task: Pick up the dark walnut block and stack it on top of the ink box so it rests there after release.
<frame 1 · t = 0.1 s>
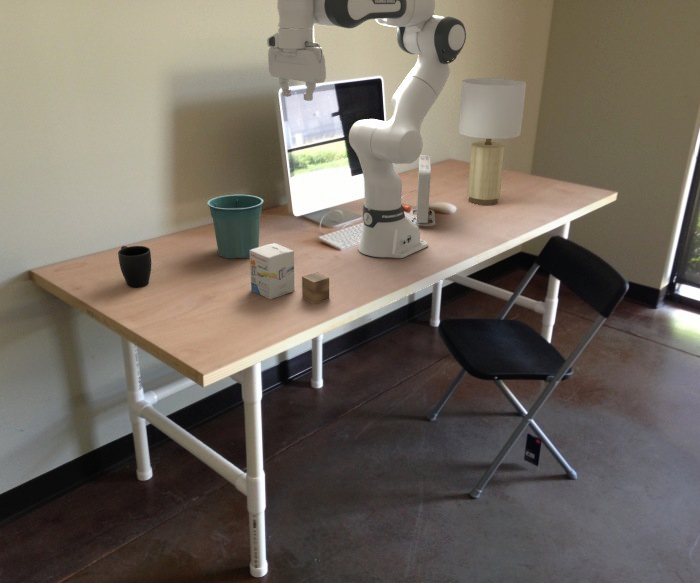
hand: (297, 98, 173), 48 cm above the table, fingers open, 8 cm apart
walnut block: (315, 298, 176), on the table
flower pot: (238, 253, 207), on the table
mug: (135, 282, 185), on the table
lamp: (482, 201, 262), on the table
network device: (422, 218, 241), on the table
ink box: (272, 291, 180), on the table
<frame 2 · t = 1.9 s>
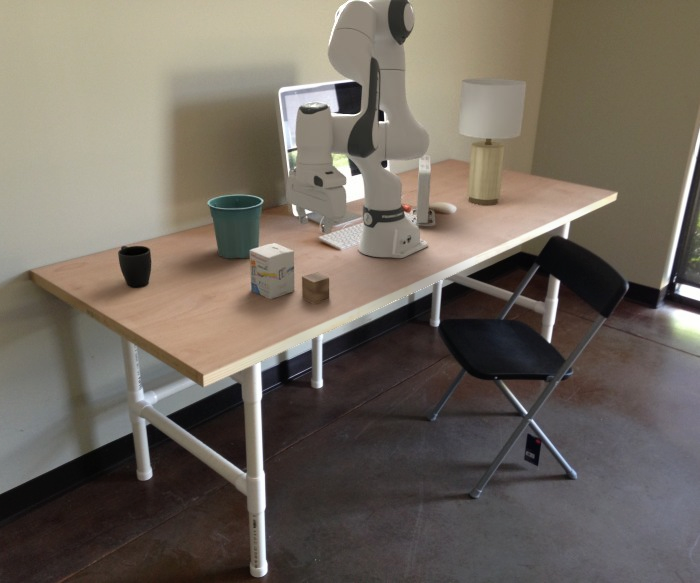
hand: (314, 228, 168), 19 cm above the table, fingers open, 8 cm apart
nothing on the table moved.
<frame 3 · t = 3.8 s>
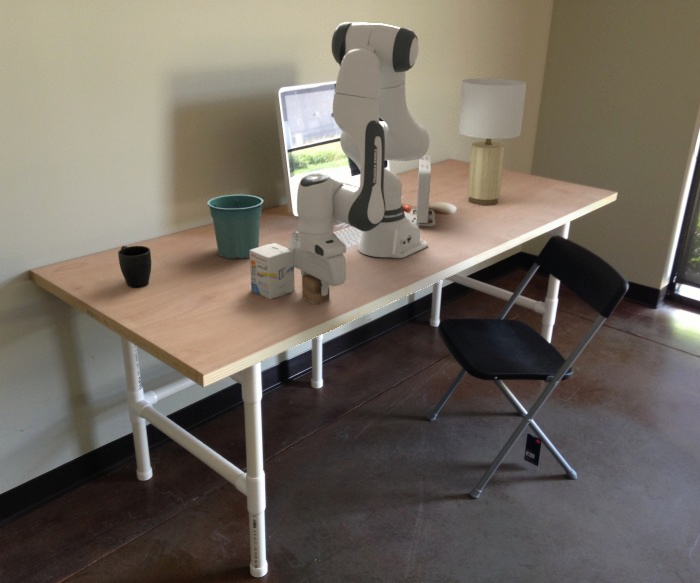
hand: (315, 290, 175), 2 cm above the table, fingers closed on walnut block, 5 cm apart
walnut block: (315, 298, 176), on the table, touching gripper
everything else where it was.
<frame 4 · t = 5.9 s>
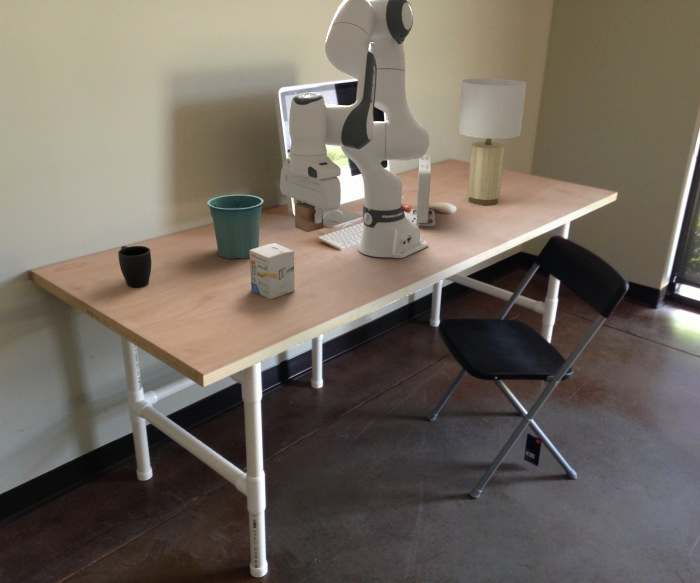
hand: (309, 219, 168), 21 cm above the table, fingers closed on walnut block, 5 cm apart
walnut block: (309, 227, 169), point 19 cm above the table, touching gripper
everything else where it was.
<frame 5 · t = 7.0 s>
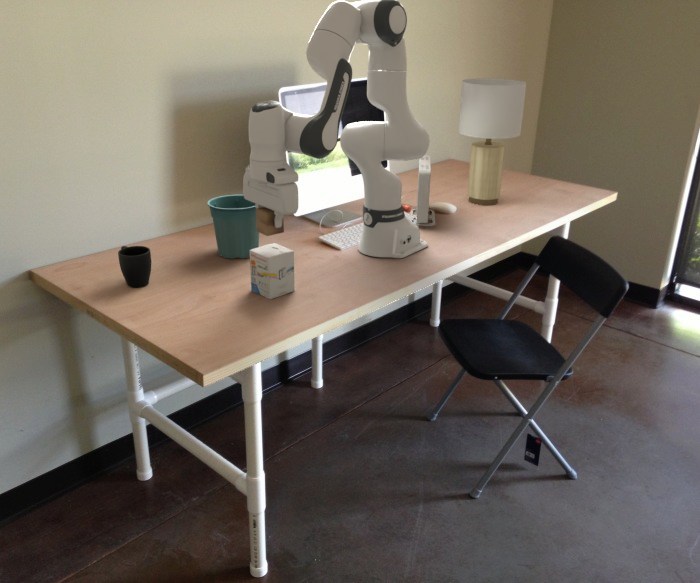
hand: (270, 223, 173), 19 cm above the table, fingers closed on walnut block, 5 cm apart
walnut block: (270, 231, 173), point 16 cm above the table, touching gripper
everything else where it was.
when the fingers open (16 cm above the table, at t = 7.9 s): walnut block drops 2 cm, resting on ink box.
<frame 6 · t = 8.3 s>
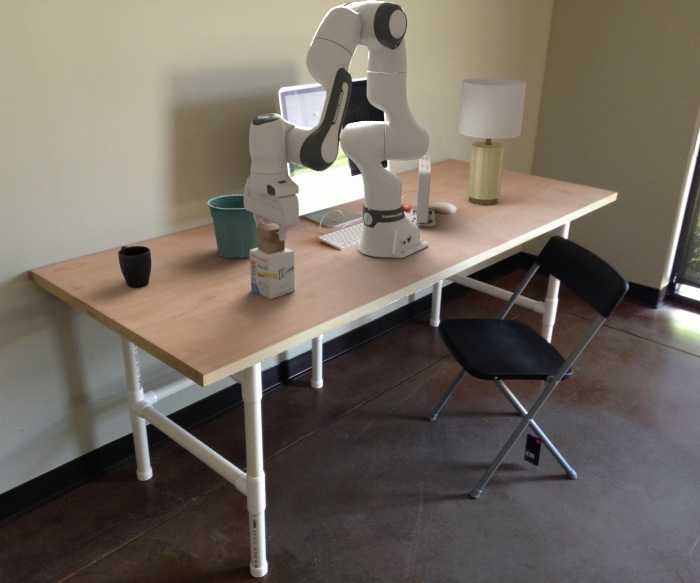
hand: (270, 234, 174), 16 cm above the table, fingers open, 8 cm apart
walnut block: (271, 249, 175), point 12 cm above the table, touching ink box
ink box: (272, 291, 180), on the table, touching walnut block
everything else where it was.
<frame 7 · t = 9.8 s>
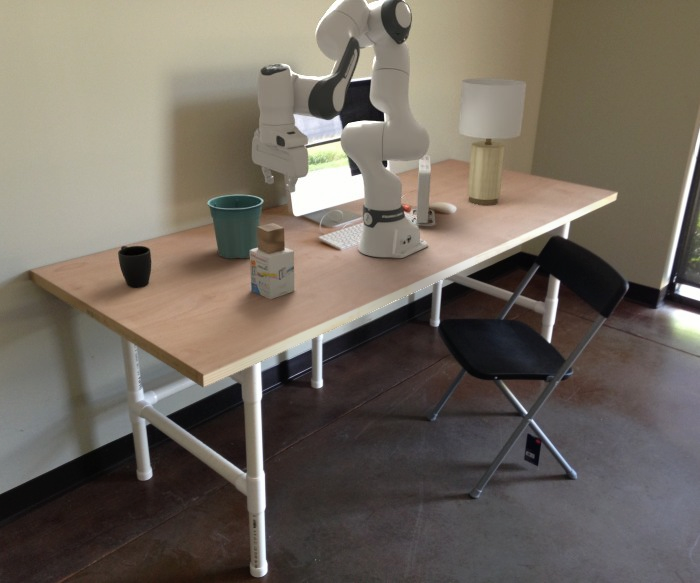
hand: (280, 187, 174), 27 cm above the table, fingers open, 8 cm apart
nothing on the table moved.
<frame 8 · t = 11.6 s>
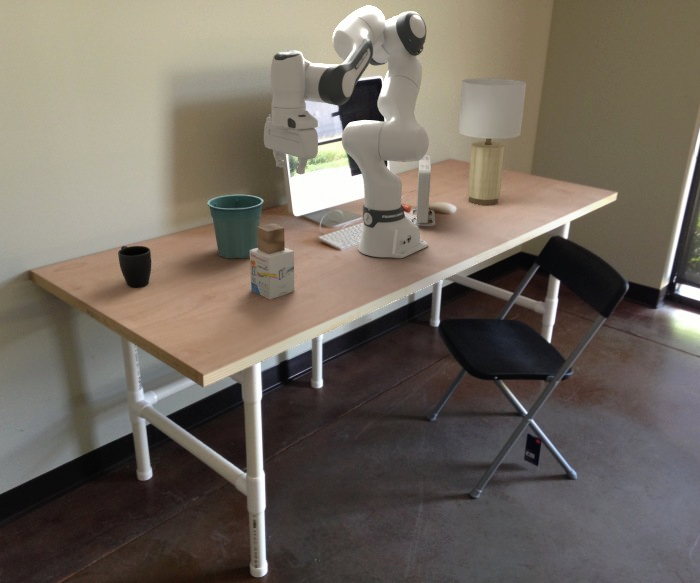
hand: (290, 170, 181), 29 cm above the table, fingers open, 8 cm apart
nothing on the table moved.
at the end: walnut block inside the target area in the ink box (0.1 cm from its centre), point 11.9 cm above the ink box's base; walnut block point 11.6 cm above the table; the gripper is holding nothing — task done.
